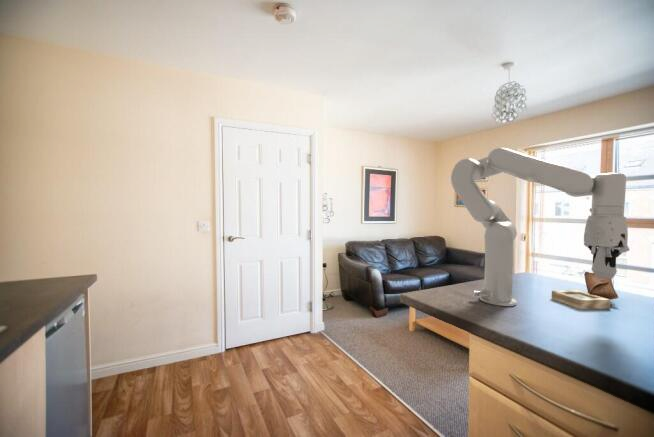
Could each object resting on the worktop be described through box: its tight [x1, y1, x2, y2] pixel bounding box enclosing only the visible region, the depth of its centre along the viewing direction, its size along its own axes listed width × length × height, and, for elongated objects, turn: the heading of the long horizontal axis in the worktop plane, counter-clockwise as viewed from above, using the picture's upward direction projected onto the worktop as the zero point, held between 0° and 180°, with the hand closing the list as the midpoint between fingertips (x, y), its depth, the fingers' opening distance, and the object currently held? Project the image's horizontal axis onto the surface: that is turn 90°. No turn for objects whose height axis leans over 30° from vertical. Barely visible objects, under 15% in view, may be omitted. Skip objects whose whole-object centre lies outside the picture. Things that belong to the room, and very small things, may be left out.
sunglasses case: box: [583, 271, 619, 301], centre depth 115 cm, size 18×7×7 cm
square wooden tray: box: [551, 289, 611, 310], centre depth 109 cm, size 12×12×3 cm
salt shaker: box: [591, 246, 618, 280], centre depth 91 cm, size 6×6×13 cm
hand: (603, 267), depth 91 cm, fingers closed on salt shaker, 3 cm apart
